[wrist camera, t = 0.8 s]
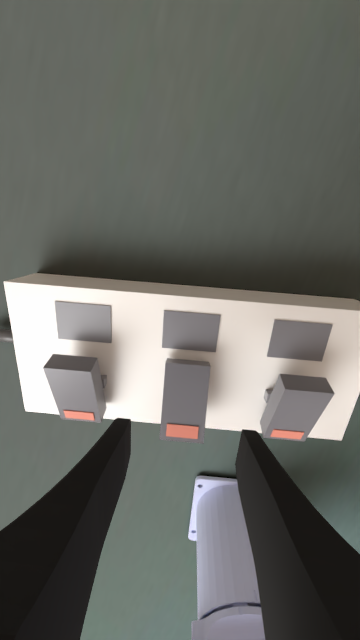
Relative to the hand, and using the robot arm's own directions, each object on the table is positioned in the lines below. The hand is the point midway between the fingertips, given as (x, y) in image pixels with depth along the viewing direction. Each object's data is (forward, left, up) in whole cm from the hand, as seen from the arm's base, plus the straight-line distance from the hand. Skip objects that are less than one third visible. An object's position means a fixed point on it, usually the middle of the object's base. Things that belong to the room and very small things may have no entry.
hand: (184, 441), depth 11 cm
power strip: (0, +2, -10) cm, 10 cm away
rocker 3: (-1, -7, -5) cm, 9 cm away
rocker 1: (-1, +7, -5) cm, 9 cm away
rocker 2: (-1, 0, -5) cm, 5 cm away
